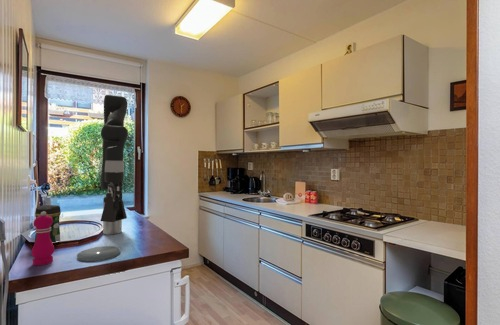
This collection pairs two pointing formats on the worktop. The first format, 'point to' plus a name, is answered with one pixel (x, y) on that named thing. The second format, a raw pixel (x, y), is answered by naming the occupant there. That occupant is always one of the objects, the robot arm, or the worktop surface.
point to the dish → (98, 253)
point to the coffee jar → (55, 214)
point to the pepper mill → (43, 240)
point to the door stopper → (111, 214)
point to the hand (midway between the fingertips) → (114, 208)
